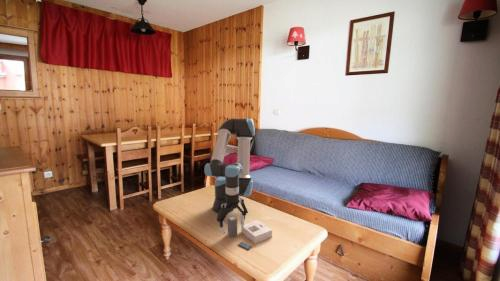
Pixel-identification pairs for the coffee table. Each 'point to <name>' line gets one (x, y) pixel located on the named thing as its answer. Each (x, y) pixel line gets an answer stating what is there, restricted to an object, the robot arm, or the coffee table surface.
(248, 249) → the phone
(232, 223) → the block
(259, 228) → the outlet plate
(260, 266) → the coffee table surface
